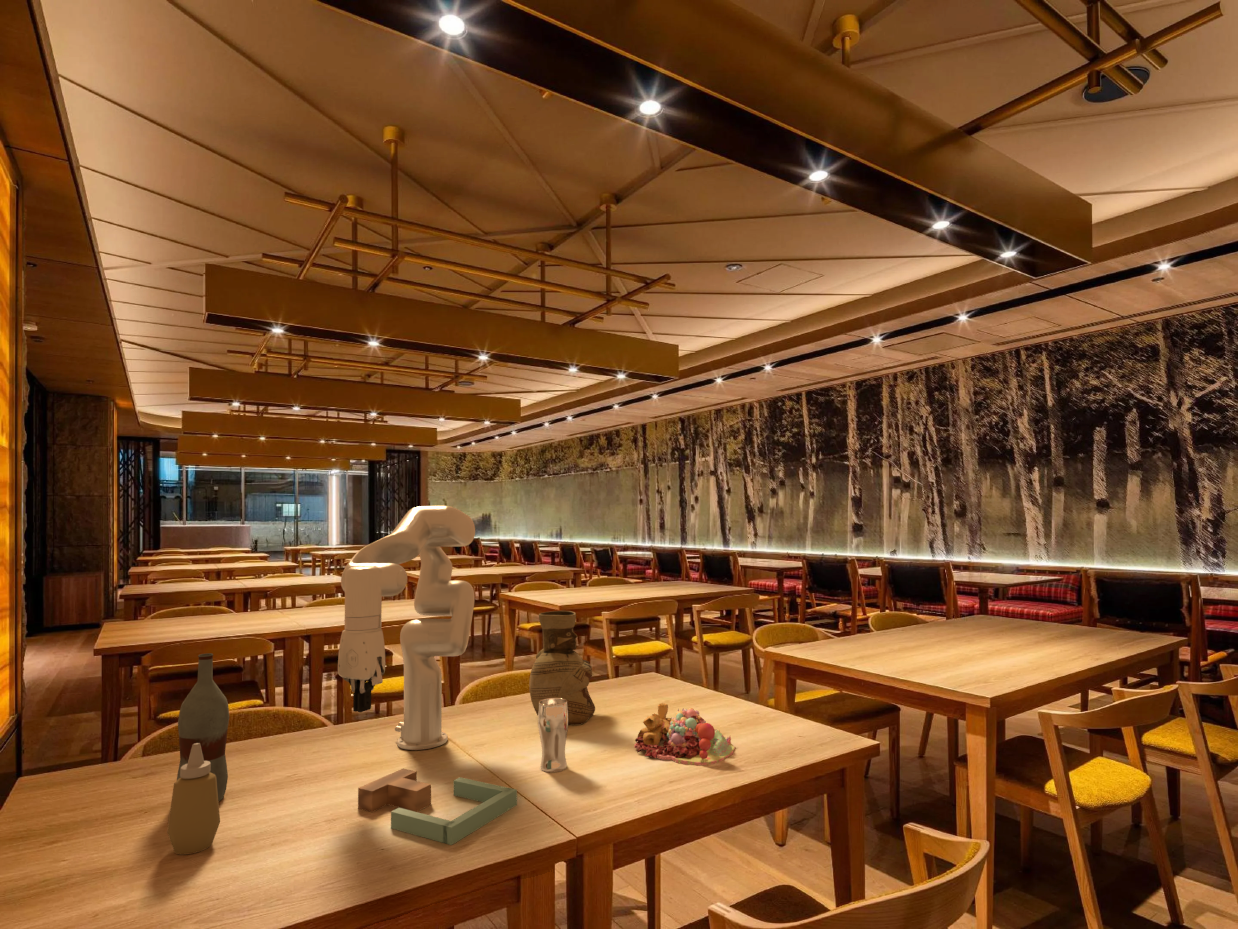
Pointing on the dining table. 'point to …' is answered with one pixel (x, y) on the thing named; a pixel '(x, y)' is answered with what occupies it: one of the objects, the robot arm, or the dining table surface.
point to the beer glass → (553, 733)
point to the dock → (453, 831)
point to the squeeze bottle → (194, 806)
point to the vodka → (205, 723)
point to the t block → (395, 792)
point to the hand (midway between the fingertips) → (362, 710)
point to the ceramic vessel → (561, 668)
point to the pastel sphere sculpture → (682, 738)
